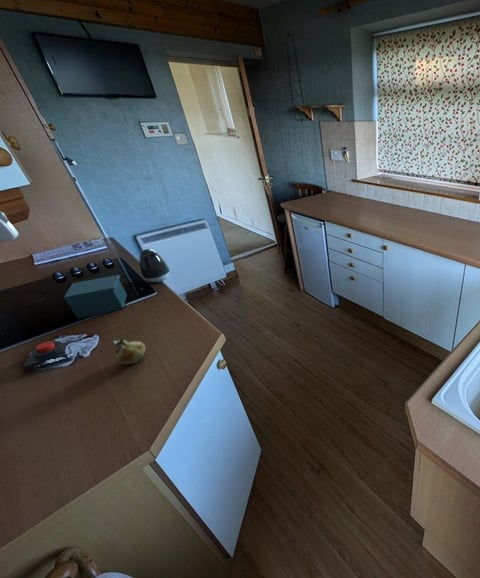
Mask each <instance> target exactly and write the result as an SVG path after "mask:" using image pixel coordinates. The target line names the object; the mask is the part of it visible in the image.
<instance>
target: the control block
mask: <svg viewBox="0 0 480 578" xmlns="http://www.w3.org/2000/svg"><path fill="white" fill-rule="evenodd" d="M74 340H75V339H73V341H74ZM71 341H72V340H70V341H65V342H66V343H67V342H71ZM52 342H53V343H54V344H55V346H56V347H55V348H53V349H52V350H50V351H48V352H44V353H40V352H39V351H38V350H37V349H36V348H34V349H33V350H32V352H30V355H29V356H28V358H27V359H26V361H25V362H24V364H23V365H22V366H23V367H22V368H23V369H24V370H25V371H26V372H32V371H36V370H39V369H43V368H46V367H50V366H54V365H58V364H61V363H66V362H68V361H72V360H73V358H74V356H75V354H74V355H73V356H70V358H66V359H62V360H59V361H55V362H52V363H47V364H44V365H41V364H43V363H44V362H45V361H47V360H50V359H56V358H59V357H66V356H67V354H65V352H64V349H65V347H66V344H65V343H64V342H62V341H60V340H53V341H52ZM38 365H40V366H38ZM35 366H36V367H35Z"/></svg>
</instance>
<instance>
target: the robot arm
mask: <svg viewBox="0 0 480 578" xmlns="http://www.w3.org/2000/svg"><path fill="white" fill-rule="evenodd" d="M18 237H19V231H18V230H17V229H16V228H15V226H14V225H12V223H11V222H10V221H9V218H8V217H7V215H6V214H5V212H3V211H0V242H9V241H14V240H16V239H17V238H18Z"/></svg>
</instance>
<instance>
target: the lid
mask: <svg viewBox="0 0 480 578" xmlns="http://www.w3.org/2000/svg"><path fill="white" fill-rule="evenodd" d="M120 277H121V275H120V274H116V275H110V276H104V277H100V278H94V279H89V280H83V281H77V282H73V283H71V285H70V287H69V288H68V290H67V291H66V293H65V295H64V296H63V298H64V300H65V299H68V298H73V297H78V296H83V295H88V294H93V293H98V292H103V291H108V290H113V289H116V286H117V283H118V280H119V281H120Z"/></svg>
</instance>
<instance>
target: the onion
mask: <svg viewBox="0 0 480 578" xmlns="http://www.w3.org/2000/svg"><path fill="white" fill-rule="evenodd" d="M112 343H113V347H114V348H117V350H115V354H116V362H117V363H119V364H121V365H127V366H128V365H132V364H134V363H137V362H139V361H140V360H141V359H142V357H143V356H144V355H145V352H146V344H144V343H143V342H142V341H139V340H133V341H127V340H126V339H124V338H120V339H118V340H117V339H115V340H113V341H112Z"/></svg>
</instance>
